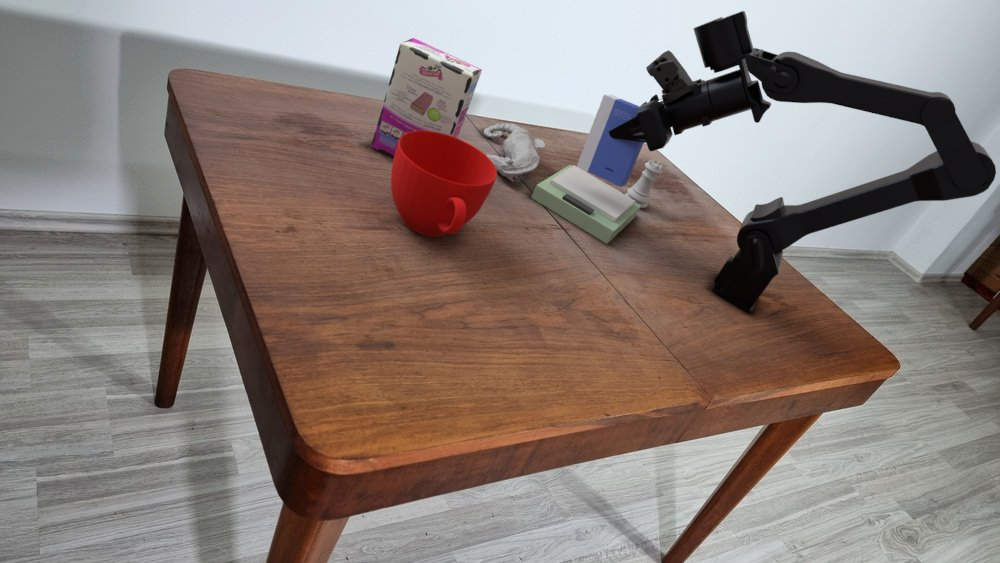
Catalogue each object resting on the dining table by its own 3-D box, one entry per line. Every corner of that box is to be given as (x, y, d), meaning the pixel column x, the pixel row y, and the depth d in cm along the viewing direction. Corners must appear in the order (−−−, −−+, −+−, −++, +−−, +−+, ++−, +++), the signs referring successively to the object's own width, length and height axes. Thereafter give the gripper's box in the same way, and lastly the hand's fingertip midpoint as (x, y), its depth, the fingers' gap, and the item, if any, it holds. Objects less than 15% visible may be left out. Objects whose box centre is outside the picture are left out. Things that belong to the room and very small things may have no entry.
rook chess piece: (645, 201, 127) (666, 162, 122) (647, 212, 123) (669, 173, 119) (622, 192, 126) (643, 153, 122) (624, 203, 122) (645, 163, 118)
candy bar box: (447, 168, 108) (484, 69, 100) (436, 180, 104) (473, 77, 95) (382, 137, 109) (413, 35, 100) (368, 147, 105) (399, 41, 96)
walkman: (626, 184, 110) (657, 110, 105) (620, 187, 108) (652, 111, 103) (582, 164, 113) (610, 91, 108) (575, 166, 110) (604, 91, 105)
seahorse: (459, 117, 123) (499, 161, 107) (521, 108, 126) (568, 149, 111) (461, 145, 126) (500, 192, 110) (521, 135, 129) (567, 179, 113)
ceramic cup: (388, 263, 83) (412, 192, 78) (371, 187, 96) (391, 121, 90) (488, 277, 89) (517, 212, 83) (460, 203, 101) (484, 142, 96)
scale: (634, 217, 119) (643, 202, 117) (606, 244, 108) (616, 227, 106) (564, 176, 122) (572, 160, 121) (530, 197, 111) (538, 180, 109)
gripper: (709, 36, 106) (612, 72, 114) (684, 51, 90) (574, 91, 98) (729, 108, 108) (634, 138, 116) (709, 134, 93) (600, 167, 101)
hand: (612, 132), depth 108 cm, fingers closed on walkman, 2 cm apart
